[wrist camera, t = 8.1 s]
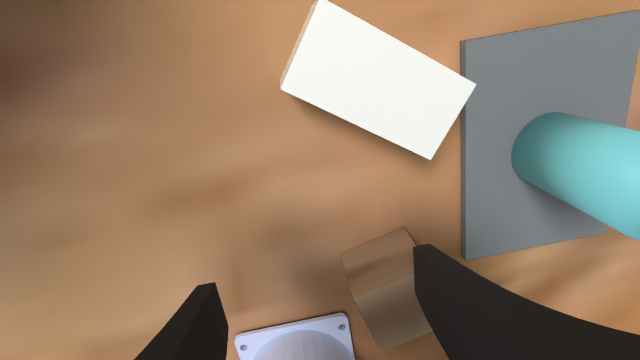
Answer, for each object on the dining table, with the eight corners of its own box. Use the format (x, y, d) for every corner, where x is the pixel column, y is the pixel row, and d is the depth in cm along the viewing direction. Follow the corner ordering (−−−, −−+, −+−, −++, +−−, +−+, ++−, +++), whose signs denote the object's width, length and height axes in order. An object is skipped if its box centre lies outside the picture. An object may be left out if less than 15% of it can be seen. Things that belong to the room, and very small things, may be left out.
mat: (599, 228, 25) (606, 232, 24) (461, 256, 24) (465, 261, 24) (635, 10, 19) (645, 9, 19) (460, 41, 19) (465, 41, 19)
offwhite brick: (440, 75, 20) (476, 84, 16) (404, 138, 21) (430, 160, 17) (311, 5, 18) (320, -4, 14) (280, 79, 19) (280, 89, 15)
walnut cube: (422, 275, 25) (452, 323, 21) (364, 300, 25) (381, 352, 21) (402, 225, 23) (429, 266, 19) (340, 253, 23) (353, 299, 19)
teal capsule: (576, 174, 22) (701, 228, 16) (510, 188, 22) (608, 249, 16) (584, 105, 21) (726, 133, 14) (512, 120, 20) (623, 156, 14)
